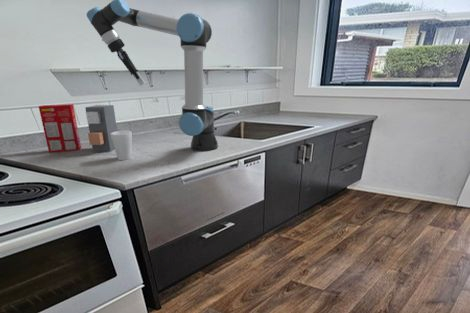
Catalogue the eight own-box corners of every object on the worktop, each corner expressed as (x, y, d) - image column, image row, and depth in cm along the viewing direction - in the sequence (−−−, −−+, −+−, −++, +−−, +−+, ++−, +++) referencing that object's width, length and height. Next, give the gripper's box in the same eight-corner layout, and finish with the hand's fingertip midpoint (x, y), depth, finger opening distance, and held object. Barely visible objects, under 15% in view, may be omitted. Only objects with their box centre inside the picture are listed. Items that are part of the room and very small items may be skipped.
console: (110, 151, 146) (103, 107, 139) (93, 151, 147) (85, 107, 140) (119, 146, 155) (113, 105, 148) (103, 146, 156) (96, 105, 149)
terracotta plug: (100, 144, 140) (98, 133, 138) (89, 144, 141) (87, 133, 139) (113, 139, 152) (111, 128, 150) (103, 139, 153) (101, 128, 151)
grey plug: (98, 123, 138) (96, 111, 136) (87, 123, 139) (85, 112, 137) (111, 119, 150) (110, 108, 149) (101, 119, 151) (99, 109, 149)
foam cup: (118, 155, 137) (114, 131, 134) (136, 155, 138) (133, 130, 134) (111, 161, 128) (107, 135, 125) (131, 160, 129) (127, 134, 125)
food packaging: (81, 147, 155) (73, 104, 147) (79, 150, 150) (70, 105, 143) (52, 150, 151) (42, 105, 144) (49, 152, 146) (38, 106, 139)
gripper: (110, 45, 138) (138, 86, 148) (103, 45, 126) (134, 89, 136) (122, 38, 138) (150, 79, 147) (117, 37, 126) (147, 81, 135)
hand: (142, 84), depth 142 cm, fingers closed
